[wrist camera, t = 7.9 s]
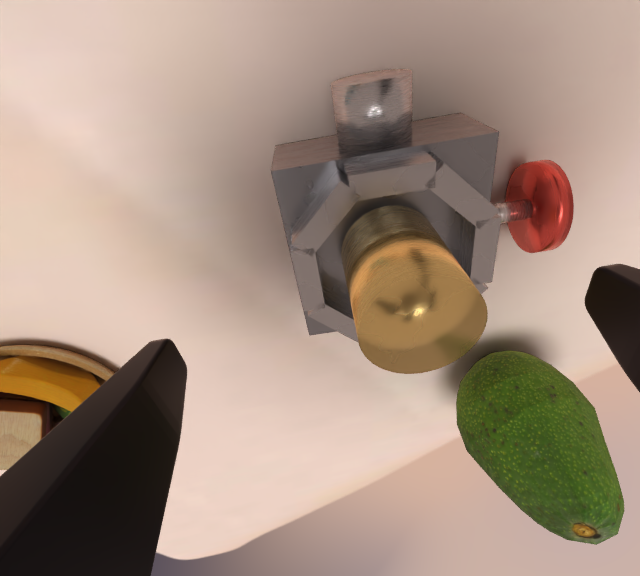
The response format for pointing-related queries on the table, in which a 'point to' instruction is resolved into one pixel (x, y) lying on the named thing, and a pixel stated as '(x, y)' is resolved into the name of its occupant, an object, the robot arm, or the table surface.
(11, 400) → the toy sandwich meal
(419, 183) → the valve
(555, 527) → the avocado
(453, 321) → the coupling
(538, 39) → the table surface
